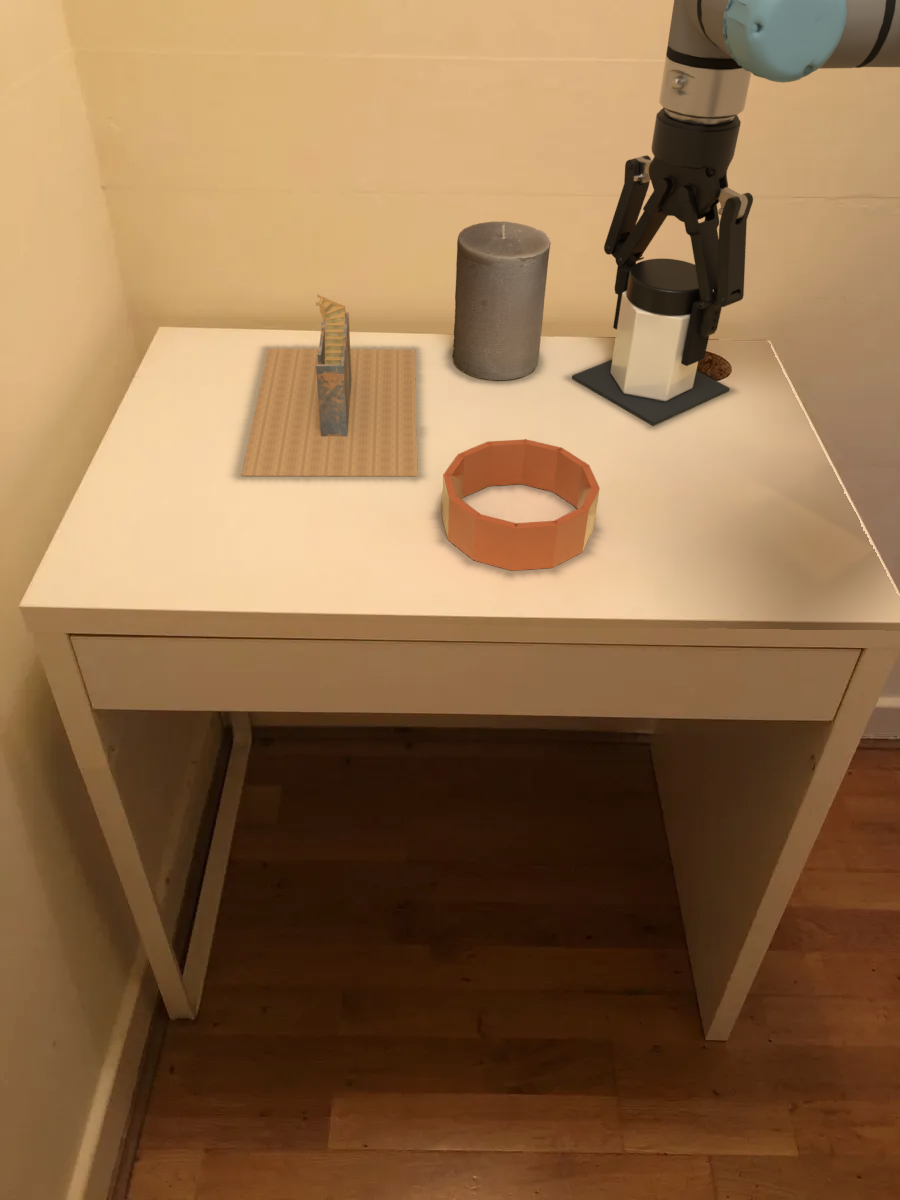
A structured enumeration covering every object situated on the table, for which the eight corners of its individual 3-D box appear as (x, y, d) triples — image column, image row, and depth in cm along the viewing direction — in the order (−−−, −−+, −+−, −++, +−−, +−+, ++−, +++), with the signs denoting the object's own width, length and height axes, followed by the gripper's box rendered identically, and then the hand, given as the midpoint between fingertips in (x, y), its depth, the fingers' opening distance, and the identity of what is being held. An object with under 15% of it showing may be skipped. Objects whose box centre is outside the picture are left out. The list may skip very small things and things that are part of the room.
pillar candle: (435, 354, 110) (437, 220, 100) (502, 332, 115) (511, 201, 105) (489, 390, 104) (497, 252, 94) (557, 365, 109) (572, 231, 99)
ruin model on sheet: (268, 348, 110) (259, 264, 103) (414, 350, 111) (414, 266, 104) (241, 475, 91) (228, 382, 85) (417, 476, 92) (417, 383, 86)
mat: (729, 391, 106) (730, 387, 105) (653, 426, 100) (653, 422, 100) (647, 348, 112) (647, 345, 112) (571, 378, 107) (572, 375, 106)
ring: (621, 532, 86) (628, 490, 83) (510, 590, 80) (514, 547, 77) (523, 465, 94) (527, 424, 91) (414, 513, 88) (414, 471, 85)
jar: (697, 371, 108) (720, 265, 100) (686, 407, 102) (710, 297, 94) (617, 357, 110) (634, 252, 102) (602, 391, 104) (618, 282, 96)
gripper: (584, 89, 92) (560, 314, 107) (771, 152, 80) (714, 396, 95) (639, 78, 96) (609, 297, 111) (826, 136, 83) (763, 374, 98)
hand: (657, 342), depth 103 cm, fingers open, 9 cm apart
